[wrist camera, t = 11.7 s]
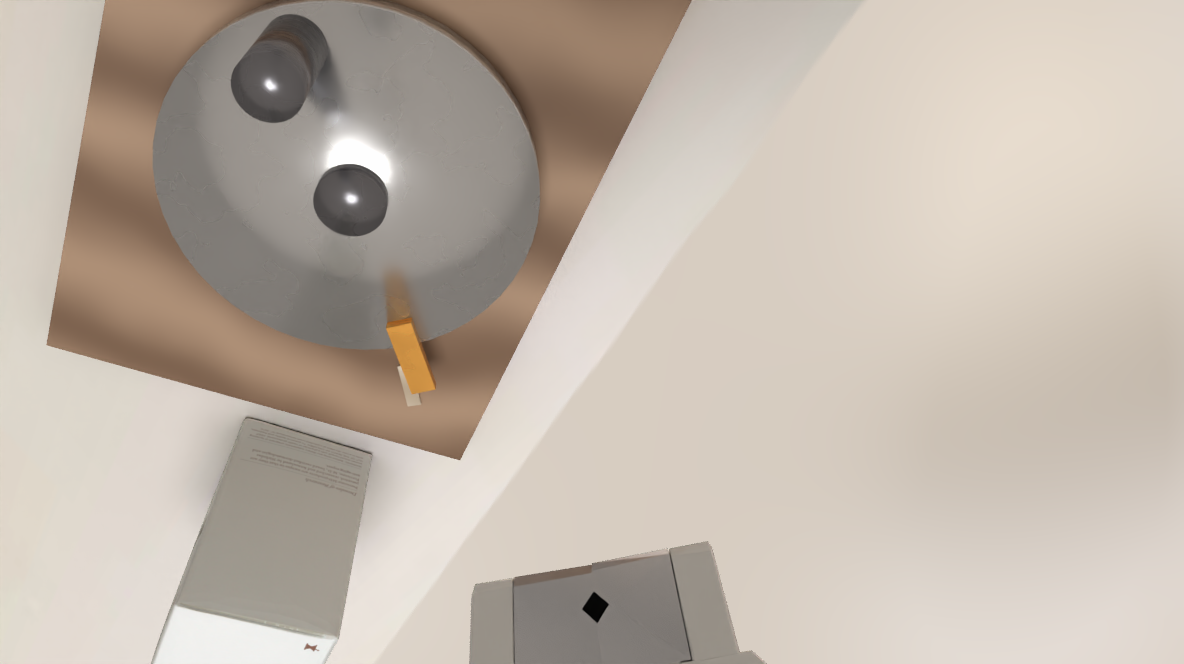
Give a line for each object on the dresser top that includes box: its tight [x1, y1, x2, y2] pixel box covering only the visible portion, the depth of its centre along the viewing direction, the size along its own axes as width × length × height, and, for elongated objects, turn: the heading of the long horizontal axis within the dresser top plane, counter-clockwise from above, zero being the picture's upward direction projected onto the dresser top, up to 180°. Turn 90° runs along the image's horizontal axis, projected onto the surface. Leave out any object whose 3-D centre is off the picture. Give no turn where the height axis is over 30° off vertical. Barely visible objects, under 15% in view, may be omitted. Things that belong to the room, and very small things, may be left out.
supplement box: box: [151, 418, 372, 664], centre depth 45 cm, size 7×7×13 cm
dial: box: [153, 0, 540, 394], centre depth 37 cm, size 18×16×6 cm
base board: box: [47, 0, 691, 460], centre depth 39 cm, size 28×21×2 cm
